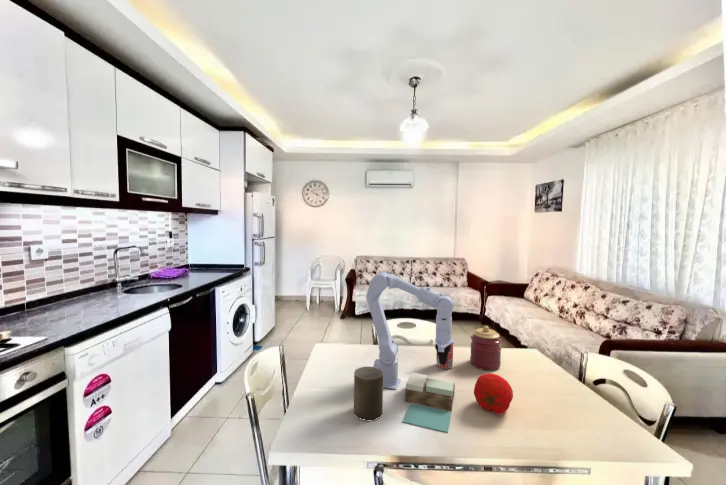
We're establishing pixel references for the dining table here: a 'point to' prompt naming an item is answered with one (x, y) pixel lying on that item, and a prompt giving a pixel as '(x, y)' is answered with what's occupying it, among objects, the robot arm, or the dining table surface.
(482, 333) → the canister
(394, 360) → the robot arm
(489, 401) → the tomato
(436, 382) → the pale green block
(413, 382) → the off-white flat block
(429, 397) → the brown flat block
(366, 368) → the pillar candle
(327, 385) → the dining table surface
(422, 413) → the mat
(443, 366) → the soda can
